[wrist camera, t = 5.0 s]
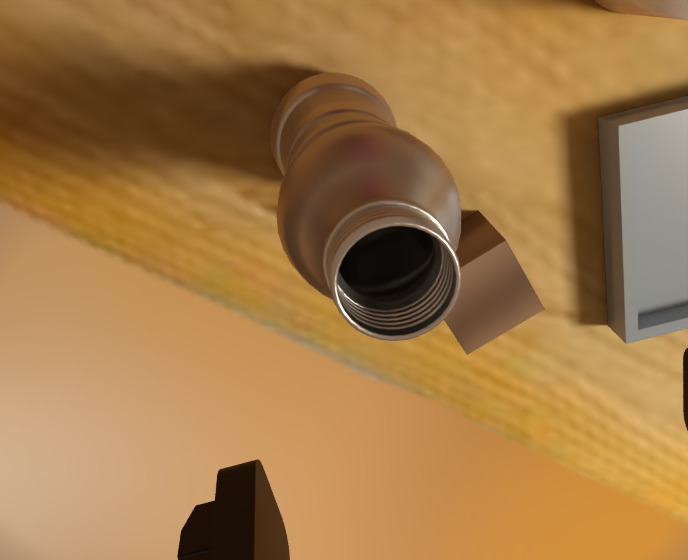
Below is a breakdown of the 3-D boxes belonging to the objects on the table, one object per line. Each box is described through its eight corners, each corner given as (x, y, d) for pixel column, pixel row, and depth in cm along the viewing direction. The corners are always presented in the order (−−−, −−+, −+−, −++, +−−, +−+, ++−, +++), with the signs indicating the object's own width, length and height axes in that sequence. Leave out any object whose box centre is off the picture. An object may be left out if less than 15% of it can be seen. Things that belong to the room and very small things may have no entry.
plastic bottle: (333, 38, 34) (411, 107, 16) (413, 135, 36) (559, 288, 18) (244, 123, 35) (221, 276, 17) (327, 210, 38) (384, 423, 20)
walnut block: (406, 254, 39) (424, 289, 35) (477, 210, 39) (506, 240, 34) (445, 314, 41) (466, 354, 37) (513, 272, 41) (544, 309, 36)
